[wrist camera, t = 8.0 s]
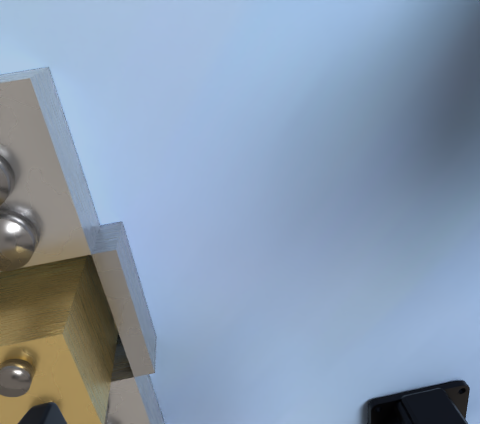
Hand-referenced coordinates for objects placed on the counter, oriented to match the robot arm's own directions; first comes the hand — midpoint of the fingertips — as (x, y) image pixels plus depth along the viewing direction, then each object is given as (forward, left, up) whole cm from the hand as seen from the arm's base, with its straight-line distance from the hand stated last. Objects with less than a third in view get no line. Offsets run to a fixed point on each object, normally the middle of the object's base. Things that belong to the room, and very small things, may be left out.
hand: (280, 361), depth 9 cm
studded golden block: (-6, +9, -12) cm, 16 cm away
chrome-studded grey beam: (-6, +9, -12) cm, 16 cm away
